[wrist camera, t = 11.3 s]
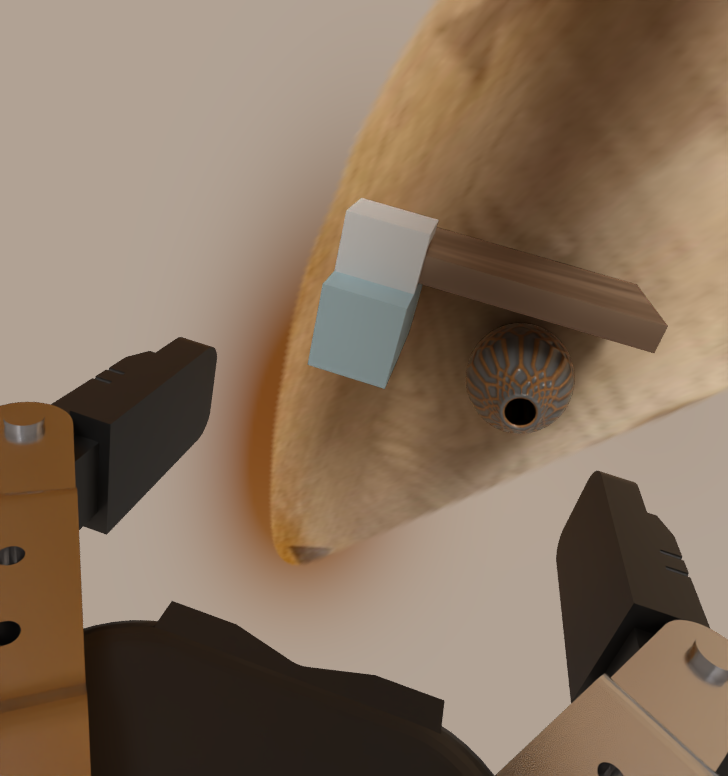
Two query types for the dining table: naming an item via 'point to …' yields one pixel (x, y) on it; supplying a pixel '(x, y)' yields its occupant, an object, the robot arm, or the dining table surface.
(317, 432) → the dining table surface
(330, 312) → the cabinet
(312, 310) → the dining table surface
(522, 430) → the vase
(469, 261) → the wall board
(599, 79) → the dining table surface
